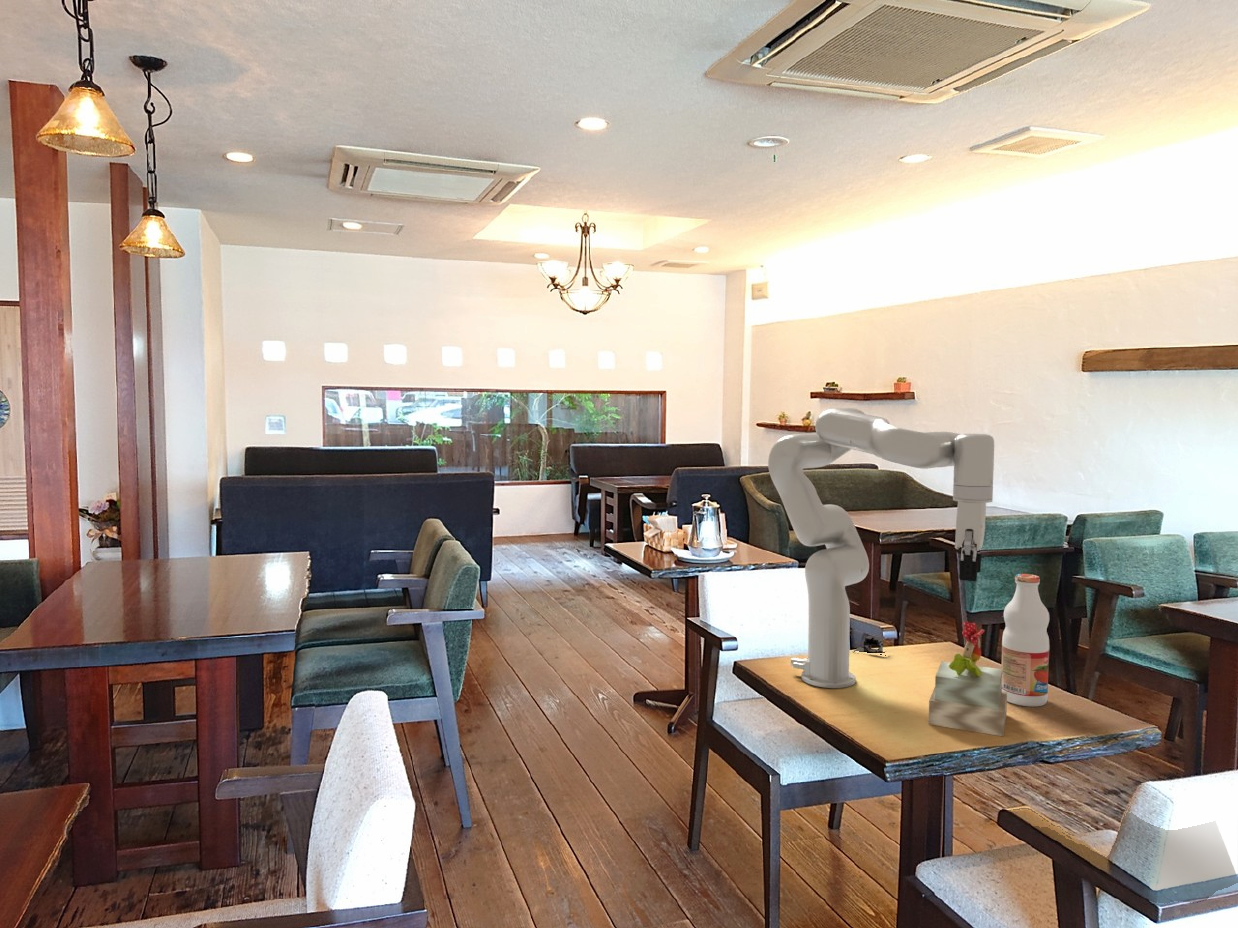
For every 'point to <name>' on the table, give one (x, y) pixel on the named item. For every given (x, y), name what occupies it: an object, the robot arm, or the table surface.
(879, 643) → the dark grey rounded block
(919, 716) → the table surface
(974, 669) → the bird rattle
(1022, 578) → the fruit juice
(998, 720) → the striped stacked block
